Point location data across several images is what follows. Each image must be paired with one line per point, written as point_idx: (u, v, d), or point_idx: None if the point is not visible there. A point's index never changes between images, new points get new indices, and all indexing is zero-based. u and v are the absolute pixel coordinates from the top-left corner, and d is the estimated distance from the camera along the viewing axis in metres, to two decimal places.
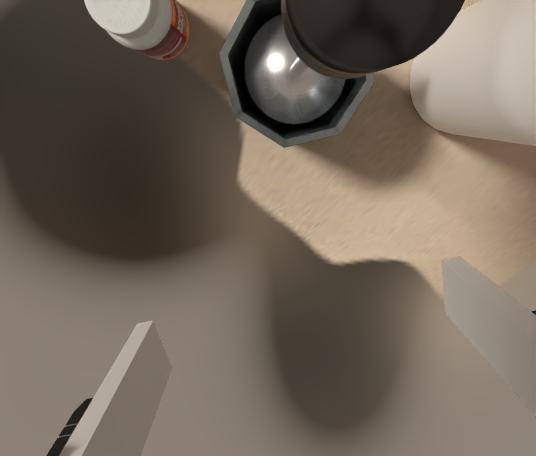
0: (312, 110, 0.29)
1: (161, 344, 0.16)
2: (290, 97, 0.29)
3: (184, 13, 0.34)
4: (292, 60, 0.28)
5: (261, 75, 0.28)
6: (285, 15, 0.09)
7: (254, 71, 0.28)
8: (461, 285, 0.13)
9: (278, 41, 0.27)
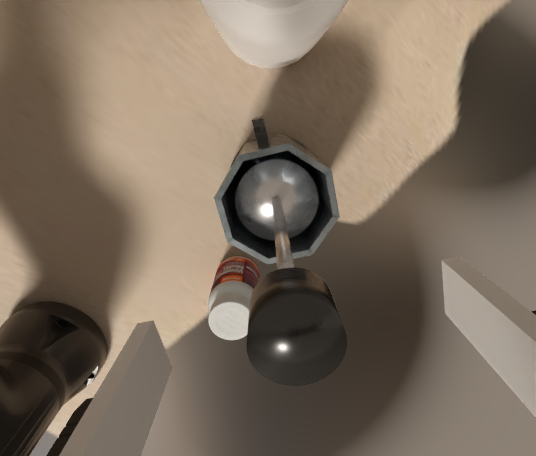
0: (308, 186, 0.34)
1: (161, 344, 0.16)
2: (297, 205, 0.35)
3: (229, 260, 0.46)
4: (269, 204, 0.35)
5: None
6: None
7: None
8: (461, 285, 0.13)
9: (255, 215, 0.35)
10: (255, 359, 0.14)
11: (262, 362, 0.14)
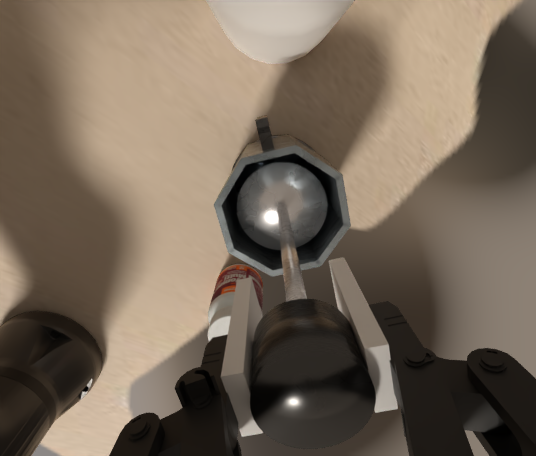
0: (316, 192, 0.31)
1: (257, 299, 0.17)
2: (304, 212, 0.32)
3: (230, 269, 0.43)
4: (273, 211, 0.32)
5: None
6: None
7: None
8: (335, 281, 0.15)
9: (258, 222, 0.32)
10: (260, 418, 0.11)
11: (269, 422, 0.11)
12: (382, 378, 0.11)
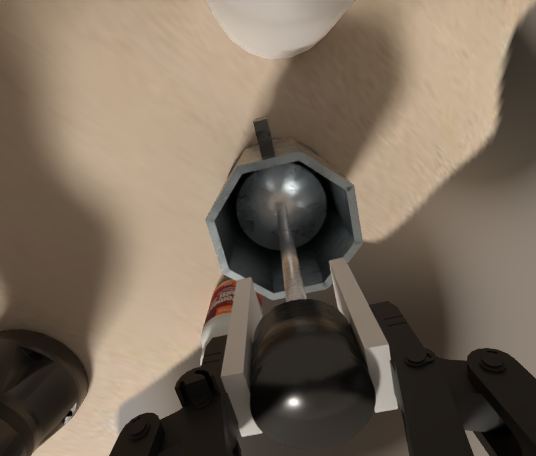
0: (315, 192, 0.31)
1: (257, 299, 0.17)
2: (303, 212, 0.32)
3: (226, 285, 0.40)
4: (273, 211, 0.32)
5: None
6: None
7: None
8: (335, 281, 0.15)
9: (258, 223, 0.32)
10: (260, 419, 0.11)
11: (269, 422, 0.11)
12: (382, 378, 0.11)
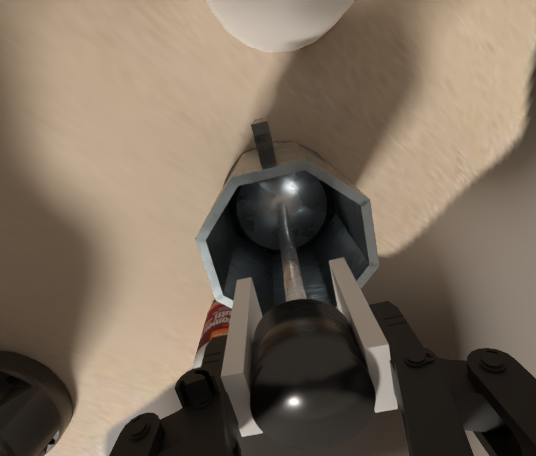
0: (315, 192, 0.31)
1: (257, 299, 0.17)
2: (303, 212, 0.32)
3: None
4: (273, 211, 0.32)
5: None
6: None
7: None
8: (335, 281, 0.15)
9: (258, 223, 0.32)
10: (260, 419, 0.11)
11: (269, 422, 0.11)
12: (382, 378, 0.11)
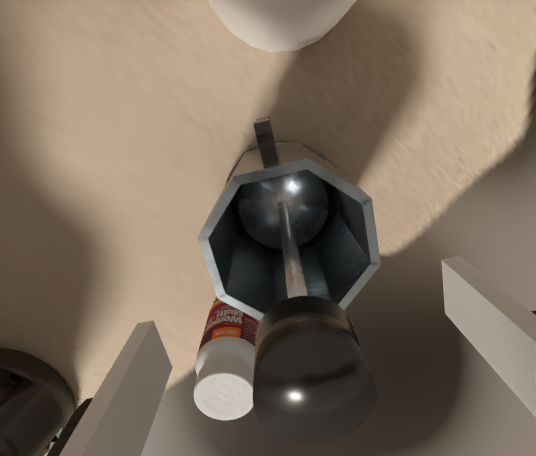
0: (317, 191, 0.31)
1: (161, 344, 0.16)
2: (305, 211, 0.32)
3: (224, 302, 0.36)
4: (275, 210, 0.32)
5: None
6: None
7: None
8: (461, 285, 0.13)
9: (260, 221, 0.32)
10: (263, 413, 0.11)
11: (271, 416, 0.11)
12: None
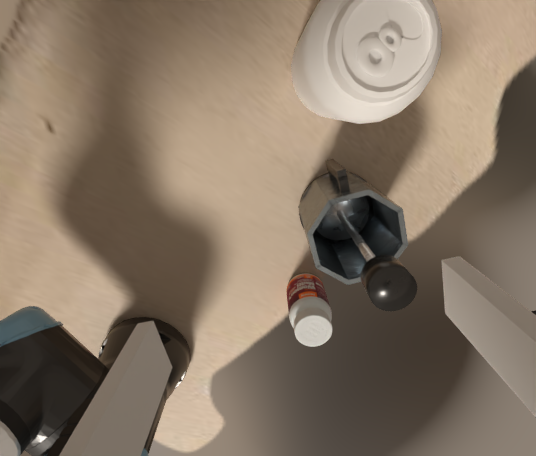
0: (362, 202, 0.49)
1: (161, 344, 0.16)
2: (354, 215, 0.50)
3: (299, 278, 0.54)
4: (334, 215, 0.50)
5: (342, 231, 0.51)
6: None
7: (340, 235, 0.51)
8: (461, 284, 0.13)
9: (325, 223, 0.50)
10: (373, 298, 0.29)
11: (376, 299, 0.29)
12: None
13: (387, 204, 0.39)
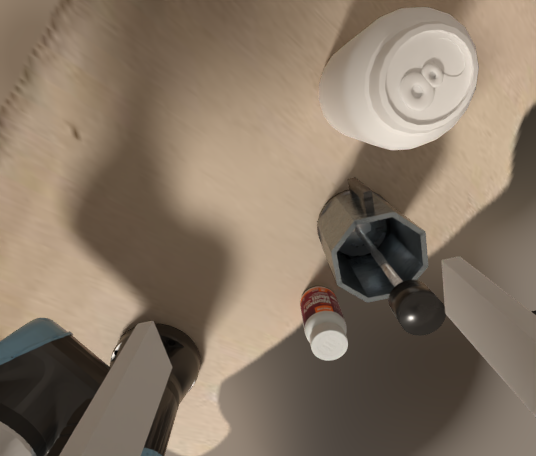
0: (380, 220, 0.50)
1: (161, 344, 0.16)
2: (372, 232, 0.51)
3: (314, 291, 0.55)
4: (353, 232, 0.51)
5: (359, 247, 0.52)
6: None
7: (356, 251, 0.52)
8: (461, 284, 0.13)
9: None
10: (403, 322, 0.30)
11: (406, 324, 0.30)
12: None
13: (411, 227, 0.40)
